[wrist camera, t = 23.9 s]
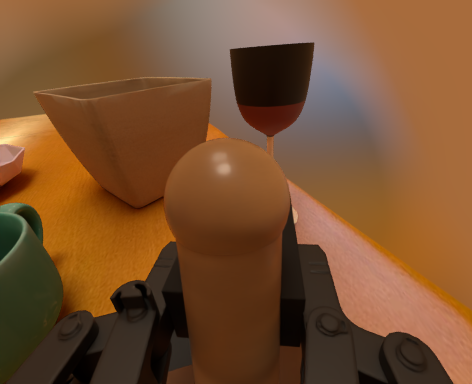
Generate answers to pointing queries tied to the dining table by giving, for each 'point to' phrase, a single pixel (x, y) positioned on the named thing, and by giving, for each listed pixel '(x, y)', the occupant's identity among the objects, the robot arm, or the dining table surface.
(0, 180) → the fruit bowl
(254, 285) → the brush
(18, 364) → the mug
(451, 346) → the dining table surface
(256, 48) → the wineglass
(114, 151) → the flower pot
